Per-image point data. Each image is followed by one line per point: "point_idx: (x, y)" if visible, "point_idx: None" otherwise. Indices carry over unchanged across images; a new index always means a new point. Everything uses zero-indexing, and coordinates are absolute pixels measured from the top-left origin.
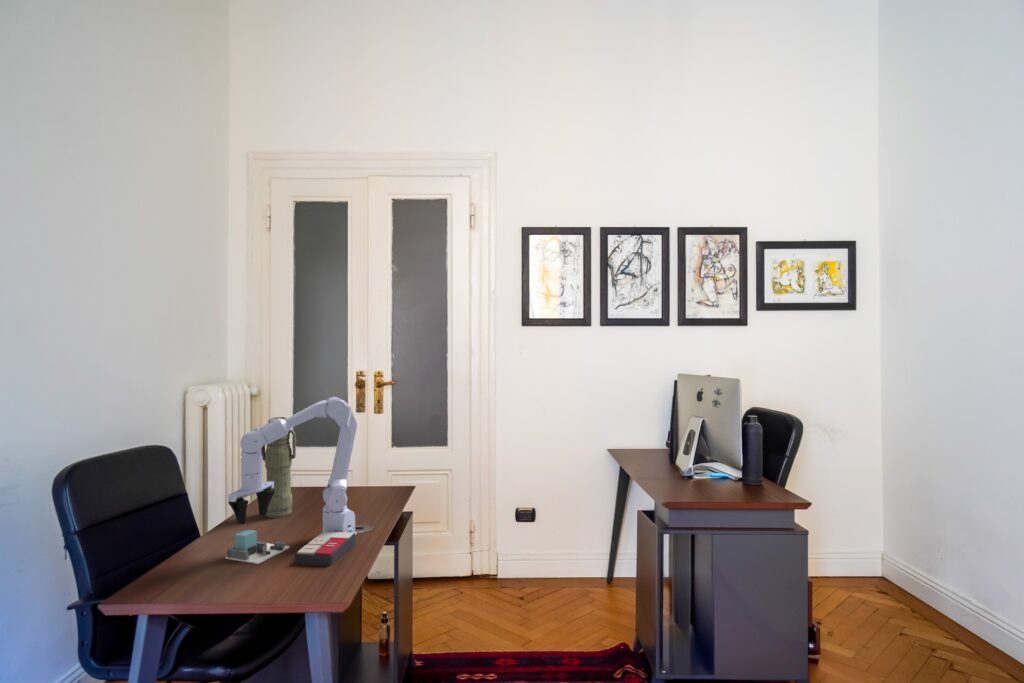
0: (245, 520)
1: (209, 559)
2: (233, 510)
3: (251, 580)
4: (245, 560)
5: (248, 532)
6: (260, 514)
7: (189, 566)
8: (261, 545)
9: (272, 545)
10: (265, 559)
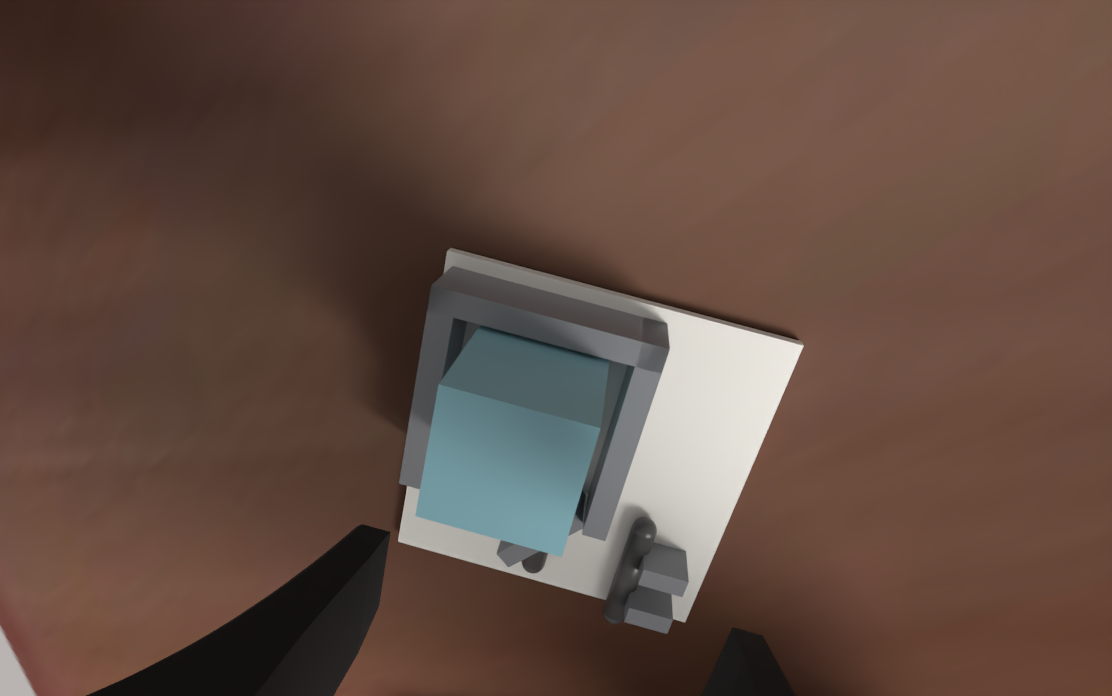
0: (359, 645)
1: (417, 103)
2: (181, 653)
3: (210, 599)
4: None
5: (509, 500)
6: (725, 646)
7: (258, 18)
8: (590, 497)
9: (646, 541)
10: (465, 556)
